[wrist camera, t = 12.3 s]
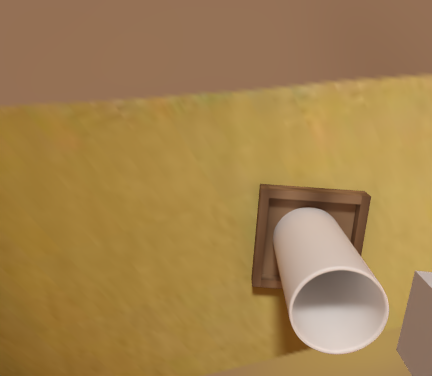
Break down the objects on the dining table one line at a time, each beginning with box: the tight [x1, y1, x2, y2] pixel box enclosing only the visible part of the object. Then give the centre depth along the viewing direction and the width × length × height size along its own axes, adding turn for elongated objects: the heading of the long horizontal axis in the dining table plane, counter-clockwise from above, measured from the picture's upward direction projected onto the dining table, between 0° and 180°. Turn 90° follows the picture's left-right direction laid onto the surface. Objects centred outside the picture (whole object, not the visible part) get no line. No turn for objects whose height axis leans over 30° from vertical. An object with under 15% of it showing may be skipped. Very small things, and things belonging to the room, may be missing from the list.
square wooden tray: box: [252, 184, 371, 289], centre depth 48 cm, size 12×12×2 cm
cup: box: [273, 207, 389, 354], centre depth 41 cm, size 8×8×16 cm
